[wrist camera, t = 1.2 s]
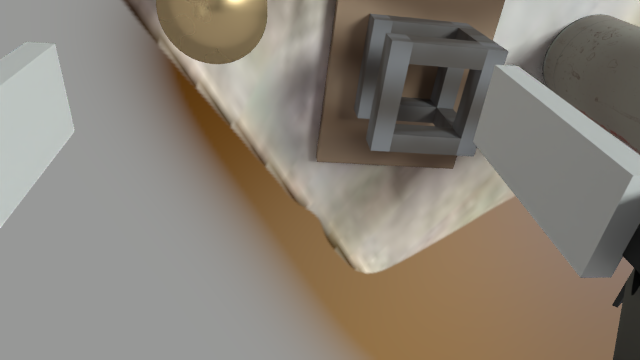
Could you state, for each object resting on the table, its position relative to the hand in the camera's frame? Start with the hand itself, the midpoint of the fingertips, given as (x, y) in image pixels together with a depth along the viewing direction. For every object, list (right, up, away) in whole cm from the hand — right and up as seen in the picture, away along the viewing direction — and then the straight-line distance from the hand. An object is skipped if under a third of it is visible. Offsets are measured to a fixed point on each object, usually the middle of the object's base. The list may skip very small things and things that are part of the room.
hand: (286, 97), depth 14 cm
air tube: (-5, +15, +21) cm, 27 cm away
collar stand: (+9, +8, +28) cm, 30 cm away
